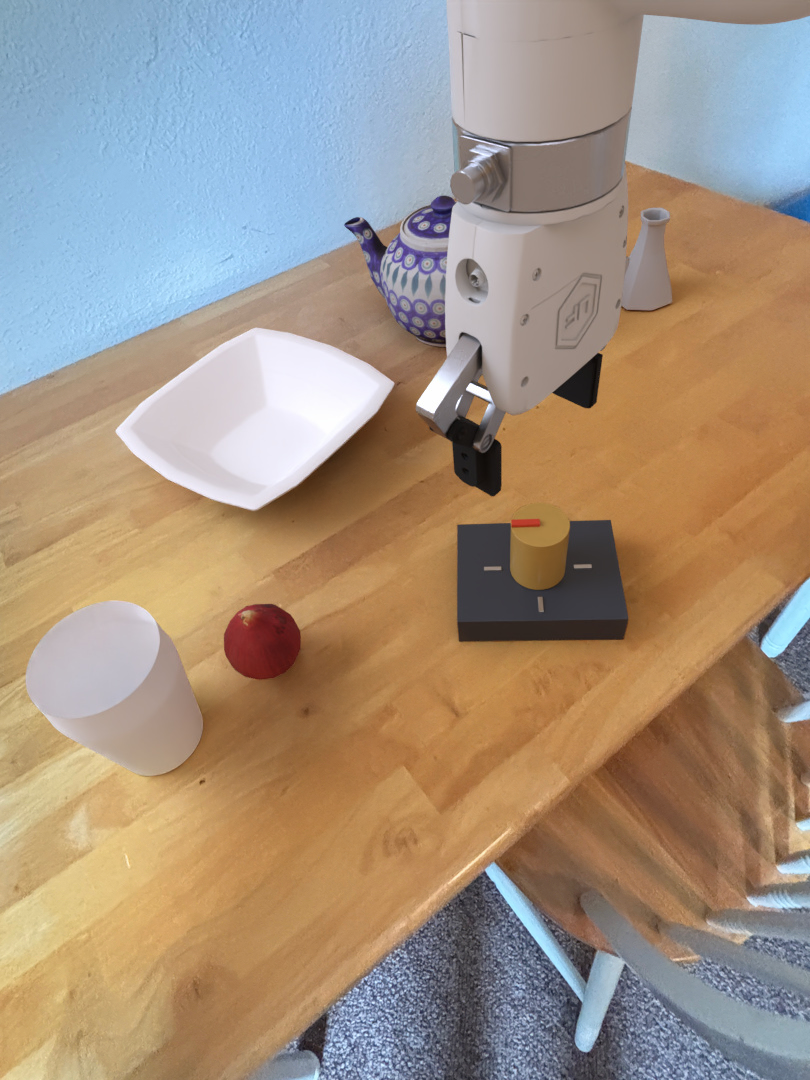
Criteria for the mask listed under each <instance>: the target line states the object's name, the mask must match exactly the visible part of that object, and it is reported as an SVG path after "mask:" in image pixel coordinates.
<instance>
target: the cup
mask: <svg viewBox="0 0 810 1080" xmlns="http://www.w3.org/2000/svg"><path fill="white" fill-rule="evenodd" d="M24 680H25V688H26V693H27V695H28V697H29V699H30V701H31V702H32V704H33V705H34V706H35V707H36V708H37V709H38V710H39V711H40V713H42V714H43V716H44V717H45V718H46V719H47V720H48V722H49V723H50V725H52V726H53V728H54V729H55V730H56V731H58V732H59V733H60V734H62V735H63V736H65V737H66V738H68V739H70V740H72V741H73V742H76V743H77V744H79V745H81V746H83V747H84V748H86V749H88V750H90V751H92V752H94V753H95V754H98V755H100V756H102V757H104V758H106V759H107V760H109V761H111V762H113V763H115V764H117V765H118V766H120V767H123V768H124V769H126V770H128V771H130V772H132V773H133V774H136V775H139V776H144V777H155V776H161V775H164V774H167V773H169V772H171V771H173V770H175V769H176V768H178V767H180V766H181V765H182V764H183V763H185V762H186V761H187V760H188V759H189V758H190V757H191V755H192V754H193V753H194V752H195V751H196V749H197V747H198V745H199V743H200V741H201V738H202V735H203V730H204V720H203V715H202V712H201V710H200V706H199V704H198V701H197V699H196V696H195V693H194V691H193V689H192V686H191V683H190V680H189V678H188V675H187V673H186V670H185V667H184V664H183V662H182V659H181V657H180V655H179V651H178V649H177V647H176V644H175V643H174V641H173V639H172V638H171V637H170V634H168V633H167V632H166V631H165V630H164V629H163V628H162V626H160V624H159V623H158V621H157V620H156V619H155V618H154V617H153V615H152V614H151V613H150V612H149V611H148V610H147V609H145V608H144V607H143V606H141V605H138V604H136V603H133V602H131V601H126V600H105V601H99V602H95V603H91V604H89V605H86V606H83V607H81V608H79V609H76V610H74V611H73V612H70V613H69V614H67V615H66V616H64V617H63V618H61V619H60V620H59V621H57V623H55V624H54V625H53V626H52V627H51V628H50V629H48V631H47V632H46V633H45V634H44V635H43V636H42V637H41V638H40V640H39V641H38V642H37V644H36V646H35V647H34V649H33V651H32V653H31V655H30V657H29V660H28V662H27V666H26V670H25V679H24Z"/></svg>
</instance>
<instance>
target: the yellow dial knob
mask: <svg viewBox="0 0 810 1080" xmlns="http://www.w3.org/2000/svg"><path fill="white" fill-rule="evenodd" d="M570 521H571V520H570V518H569V517H568V515H567V514H566V512H565V511H564V510H562V508H560V507H558V506H557V505H554V504H552V503H548V502H533V503H528V504H525V505H523V506H521V507H519V508H518V509H517V510H516V511H515V512H514V513H513V515H512V517H511V520H510V523H511V541H510V571H511V574H512V576H513V578H514V579H515V580H516V582H518V583H519V584H520V585H522V586H524V587H526V588H529V589H533V590H544V589H548V588H551V587H553V586H555V585H556V584H558V583H559V582H560V581H561V580H562V578H563V576H564V573H565V566H566V558H567V549H568V541H569V532H570Z"/></svg>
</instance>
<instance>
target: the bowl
mask: <svg viewBox="0 0 810 1080" xmlns="http://www.w3.org/2000/svg"><path fill="white" fill-rule="evenodd" d="M394 387H395V382H394V380H391V379H390V378H389V377H388V376H386V375H385V374H384V373H382V372H381V371H379V370H378V369H377V368H375V367H374V366H372V365H371V364H369V362H366V361H364V360H362V359H360V358H358V357H356V356H354V355H352V354H350V353H348V352H345V351H343V350H341V349H339V348H337V347H335V346H333V345H332V344H328V343H324V342H321V341H318V340H314V339H311V338H308V337H304V336H302V335H298V334H294V333H292V332H287V331H281V330H275V329H268V328H262V327H253V328H251V329H250V330H247V331H245V332H243V333H240V334H239V335H237V336H235V337H233V338H231V339H229V340H227V341H224V342H223V343H221V344H220V345H218V346H216V348H214V349H212V350H211V351H209V352H208V353H207V354H206V355H204V356H203V357H201V358H200V359H198V360H197V361H195V362H194V363H192V364H191V365H190V366H189V367H187V368H186V369H184V370H183V371H182V372H180V373H179V374H178V375H176V376H175V377H173V378H172V379H171V380H170V381H168V382H167V383H165V384H164V385H163V386H162V387H160V388H159V389H158V390H156V391H154V393H151V395H150V396H148V397H146V398H145V399H144V400H143V401H141V402H140V403H139V404H138V406H136V407H135V408H134V409H133V411H132V412H130V414H129V415H128V416H127V417H126V418H125V419H124V420H123V421H122V422H121V423H120V425H118V426H117V428H116V429H115V433H116V435H117V436H118V437H119V438H120V439H121V441H122V442H123V443H124V444H125V445H126V447H127V448H128V449H129V450H130V452H131V453H132V454H133V455H134V456H135V457H137V458H138V460H139V459H140V460H141V461H142V462H143V463H145V464H146V465H147V466H149V467H150V468H151V469H152V470H154V471H155V472H157V473H158V474H159V475H161V476H162V477H163V478H165V479H166V480H167V481H169V482H172V483H174V484H176V485H178V486H180V487H183V488H185V489H186V490H188V491H189V490H190V491H192V492H194V493H196V494H198V495H200V496H202V497H205V498H207V499H209V500H211V501H215V502H218V503H222V504H225V505H229V506H233V507H235V508H236V507H237V508H240V509H244V510H248V511H251V512H257V511H259V510H261V509H262V508H265V507H266V506H268V505H269V504H270V503H273V502H274V501H275V500H277V499H278V498H280V497H282V496H284V495H286V494H287V493H288V492H291V490H293V489H296V488H297V487H299V486H300V485H301V484H302V483H303V482H304V481H305V480H306V479H307V478H309V477H310V476H311V475H312V474H313V473H314V472H315V471H316V470H317V469H319V468H320V467H321V466H322V465H323V464H324V463H325V462H326V461H327V460H329V459H330V458H331V457H332V456H333V455H334V454H335V453H336V452H337V451H339V450H340V449H341V448H342V447H343V446H344V445H345V444H346V443H348V442H349V441H350V440H351V438H353V437H354V436H355V435H356V434H357V432H359V431H360V430H362V428H363V427H364V426H365V425H366V424H367V423H368V422H369V421H371V420H372V419H373V417H375V416H376V415H377V414H378V412H379V411H380V409H381V408H382V406H383V405H384V403H385V402H386V400H387V398H388V397H389V395H390V394H391V392H392V391H393V389H394Z"/></svg>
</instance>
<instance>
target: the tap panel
mask: <svg viewBox="0 0 810 1080" xmlns="http://www.w3.org/2000/svg"><path fill="white" fill-rule="evenodd" d="M569 521H570V532H569V541H568V549H567V558H566V566H565V573H564V576H563V578H562V580H561V581H560V582H559V583H558V584H556V585H555V586H553V587H551V588H548V589H544V590H533V589H529V588H526V587H524V586H522V585H520V584H519V583H518V582H516V580H515V579H514V578H513V576H512V574H511V571H510V541H511V522H497V523H496V522H494V523H492V522H491V523H467V524H466V523H465V524H461V523H459V524H457V528H456V533H457V534H456V537H457V538H456V540H457V541H456V545H457V547H456V549H457V550H456V557H457V558H456V561H457V563H456V567H457V568H456V582H457V583H456V588H457V589H456V596H457V597H456V623H457V636H458V642H459V643H461V642H462V643H463V642H465V643H466V642H468V643H469V642H532V641H533V642H537V641H539V642H540V641H541V642H542V641H543V642H544V641H548V642H549V641H615V640H619V641H620V640H624V639H625V636H626V632H627V627H628V623H629V619H630V617H629V612H628V607H627V601H626V596H625V591H624V585H623V579H622V574H621V568H620V563H619V558H618V557H619V556H618V551H617V547H616V541H615V535H614V529H613V524H612V519H594V520H591V519H589V520H569Z"/></svg>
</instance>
